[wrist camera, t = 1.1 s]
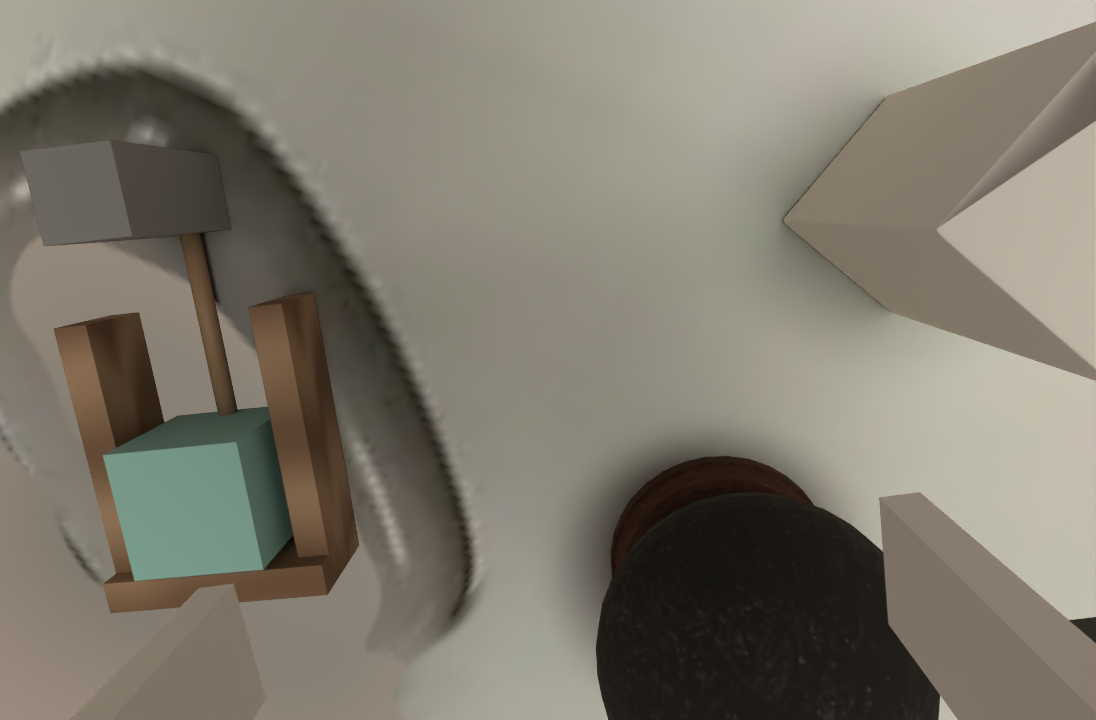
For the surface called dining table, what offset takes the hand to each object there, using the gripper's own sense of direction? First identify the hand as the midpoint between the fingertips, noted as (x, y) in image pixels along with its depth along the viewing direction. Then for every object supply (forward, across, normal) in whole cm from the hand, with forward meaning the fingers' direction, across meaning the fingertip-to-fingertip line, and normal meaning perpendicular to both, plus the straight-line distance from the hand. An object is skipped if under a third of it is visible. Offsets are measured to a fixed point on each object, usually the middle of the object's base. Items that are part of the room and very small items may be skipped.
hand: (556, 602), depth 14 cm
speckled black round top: (+22, +6, -12) cm, 25 cm away
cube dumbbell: (+22, -17, +3) cm, 28 cm away
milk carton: (+22, +16, +5) cm, 28 cm away
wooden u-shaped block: (+22, -17, 0) cm, 28 cm away
